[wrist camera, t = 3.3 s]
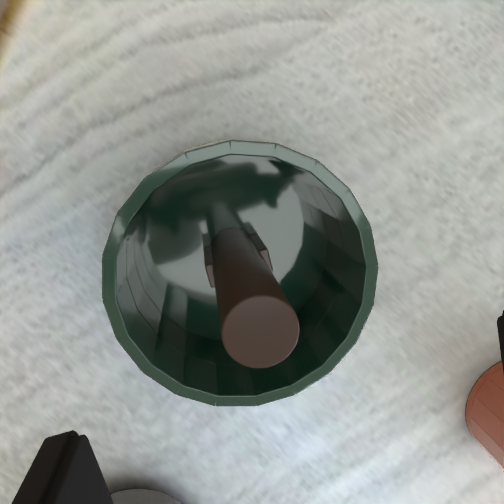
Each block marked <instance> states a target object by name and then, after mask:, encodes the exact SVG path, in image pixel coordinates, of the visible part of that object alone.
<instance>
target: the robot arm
mask: <svg viewBox="0 0 504 504" xmlns="http://www.w3.org/2000/svg"><path fill="white" fill-rule="evenodd" d="M497 327H498V334H499V342H500V350H501V358H502V366H503V374H504V310H503V314H502V316H500V317H499V318H498V320H497ZM12 504H114V503H113V500H112V498H111V495H110V493H109V490H108V488H107V485H106V483H105V480H104V478H103V475H102V473H101V470H100V468H99V465H98V463H97V460H96V458H95V455H94V453H93V450H92V447H91V445H90V442H89V440H88V438H87V437H86V435H80V436H79V435H78V434H77V432H76V431H73V430H72V431H69V432H65V433H62V434H58V435H55V436H51V437H48V438H46V439H45V440H44V442H43V444H42V446H41V448H40V450H39V451H38V453H37V455H36V457H35V459H34V461H33V463H32V465H31V467H30V469H29V471H28V473H27V475H26V477H25V479H24V481H23V482H22V484H21V486H20V488H19V490H18V492H17V494H16V496H15V498H14V500H13V502H12Z"/></svg>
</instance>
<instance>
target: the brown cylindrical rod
mask: <svg viewBox="0 0 504 504" xmlns="http://www.w3.org/2000/svg"><path fill="white" fill-rule="evenodd" d="M204 263H205V269H206V273H207V276H208V279H209V283H210V286H211V288H213V287H215V291H216V299H217V306H218V314H219V321H220V329H221V336H222V341H223V345H224V347H225V349H226V351H227V352H228V354H229V355H230V356H231V357H232V358H233V359H234V360H235V361H237V362H238V363H240V364H242V365H244V366H247V367H251V368H266V367H270V366H273V365H276V364H278V363H280V362H281V361H283V360H284V359H285V358H286V357H288V356H289V354H290V353H291V352H292V351H293V349H294V348H295V346H296V344H297V341H298V338H299V331H300V328H299V321H298V318H297V315H296V313H295V311H294V310H293V308H292V306H291V304H290V303H289V301H288V299H287V297H286V296H285V294H284V292H283V290H282V289H281V287H280V285H279V283H278V282H277V280H276V278H275V277H274V275H273V273H272V271H273V268H272V264H271V260H270V256H269V252H268V249H267V247H266V246H265V244H264V243H263V241H262V240H261V238H260V237H259V235H258V234H257V233H256V234H252V235H249V234H248V233H247V232H246V231H244V230H242V229H239V228H228V229H225V230H223V231H221V232H219V233H218V234H217V235H216V236H215V238H214V239H213V241H212V243H211V246H208V247H204Z"/></svg>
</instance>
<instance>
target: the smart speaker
mask: <svg viewBox="0 0 504 504" xmlns="http://www.w3.org/2000/svg"><path fill="white" fill-rule="evenodd" d="M110 495H111V498H112V500H113V503H114V504H182V503H181V502H179V501H178V500H177V499H175V498H173V497H171V496H169V495H167V494H165V493H162V492H159V491H155V490H149V489H129V490H123V491H119V492H115V493H112V494H110Z"/></svg>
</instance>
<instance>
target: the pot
mask: <svg viewBox="0 0 504 504" xmlns="http://www.w3.org/2000/svg"><path fill="white" fill-rule="evenodd" d="M228 228H239V229H242V230H244V231H246V232H247V233H248V234H249V235H252V234H256V233H257V234H258V235H259V237H260V238H261V240H262V241H263V243H264V244H265V246H266V247H267V249H268V252H269V256H270V260H271V264H272V268H273V271H272V273H273V275H274V277H275V278H276V280H277V282H278V283H279V285H280V287H281V289H282V290H283V292H284V294H285V296H286V297H287V299H288V301H289V303H290V304H291V306H292V308H293V310H294V311H295V313H296V315H297V318H298V321H299V328H300V331H299V338H298V341H297V344H296V346H295V348H294V349H293V351H292V352H291V353H290V354H289V356H288V357H286V358H285V359H284V360H283V361H281V362H280V363H278V364H276V365H273V366H270V367H266V368H251V367H247V366H244V365H242V364H240V363H238V362H237V361H235V360H234V359H233V358H232V357H231V356H230V355H229V354H228V352H227V351H226V349H225V347H224V345H223V341H222V336H221V329H220V321H219V314H218V306H217V299H216V291H215V287H213V288H211V286H210V283H209V279H208V276H207V273H206V269H205V263H204V247H208V246H211V243H212V241H213V239H214V238H215V236H216V235H217V234H218V233H219V232H221V231H223V230H225V229H228ZM377 274H378V261H377V256H376V251H375V246H374V240H373V235H372V230H371V226H370V223H369V222H368V220H367V218H366V216H365V215H364V213H363V211H362V209H361V208H360V206H359V204H358V202H357V200H356V199H355V197H354V195H353V193H352V192H351V190H350V189H349V188H348V187H347V186H346V185H345V184H344V183H343V182H342V181H340V180H339V179H338V178H337V177H336V176H335V175H334V174H333V173H331V172H330V171H329V170H328V169H327V168H326V167H325V166H324V165H322V164H321V163H320V162H319V161H317V160H316V159H313V158H311V157H309V156H306V155H304V154H301V153H299V152H297V151H294V150H292V149H289V148H287V147H285V146H282V145H280V144H277V143H269V142H254V141H240V140H218V141H214V142H210V143H207V144H203V145H199V146H195V147H191V148H188V149H186V150H184V151H183V152H181V153H180V154H178V155H176V156H175V157H173V158H172V159H170V160H169V161H167V162H166V163H164V164H163V165H161V166H160V167H158V168H157V169H155V170H154V171H153V172H152V173H150V174H149V175H148V176H146V178H144V179H143V181H142V182H141V183H140V185H139V186H138V187H137V188H136V190H135V191H134V192H133V194H132V195H131V196H130V197H129V199H128V200H127V201H126V202H125V204H124V205H123V206H122V208H121V209H120V210H119V211H118V213H117V215H116V217H115V220H114V223H113V226H112V229H111V232H110V235H109V237H108V240H107V243H106V246H105V249H104V252H103V257H102V298H103V303H104V306H105V309H106V312H107V314H108V317H109V320H110V323H111V326H112V328H113V331H114V334H115V337H116V339H117V341H118V342H119V343H120V345H121V346H122V347H123V348H124V350H125V351H126V352H127V353H128V355H129V356H130V357H131V358H132V360H133V361H134V362H135V363H136V365H137V366H138V367H139V369H140V370H141V371H143V373H144V374H146V375H147V376H149V377H150V378H152V379H153V380H155V381H156V382H158V383H159V384H161V385H162V386H164V387H165V388H167V389H168V390H170V391H171V392H173V393H174V394H177V395H179V396H182V397H186V398H189V399H193V400H196V401H199V402H203V403H206V404H210V405H213V406H215V405H216V406H256V405H257V406H259V405H262V404H265V403H269V402H272V401H276V400H279V399H283V398H286V397H289V396H293V395H295V394H297V393H299V392H300V391H302V390H304V389H305V388H307V387H308V386H310V385H311V384H313V383H315V382H316V381H318V380H319V379H321V378H322V377H324V376H326V375H327V374H329V372H331V371H332V370H333V369H334V367H335V366H336V365H337V364H338V363H339V362H340V361H341V360H342V358H343V357H344V356H345V355H346V354H347V353H348V352H349V351H350V349H351V348H352V347H353V346H354V345H355V344H356V342H357V340H358V338H359V336H360V334H361V331H362V329H363V327H364V325H365V323H366V321H367V318H368V316H369V314H370V312H371V310H372V307H373V305H374V297H375V289H376V282H377Z"/></svg>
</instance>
